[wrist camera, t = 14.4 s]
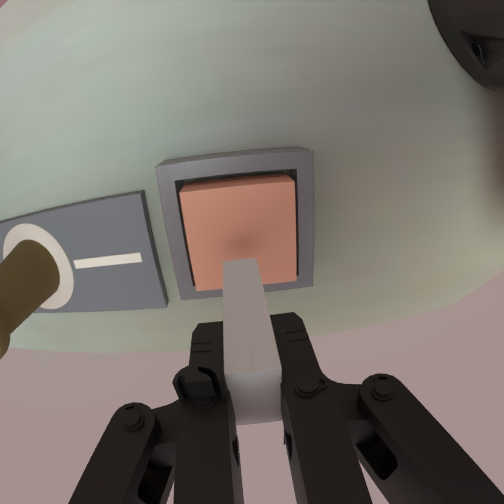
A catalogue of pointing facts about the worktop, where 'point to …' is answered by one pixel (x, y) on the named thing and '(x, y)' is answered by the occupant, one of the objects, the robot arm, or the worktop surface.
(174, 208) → the button housing
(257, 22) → the worktop surface
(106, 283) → the slate board
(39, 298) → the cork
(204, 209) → the button
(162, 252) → the worktop surface
